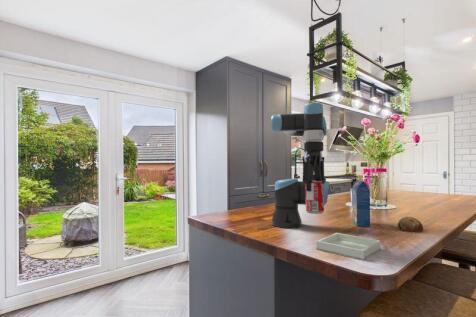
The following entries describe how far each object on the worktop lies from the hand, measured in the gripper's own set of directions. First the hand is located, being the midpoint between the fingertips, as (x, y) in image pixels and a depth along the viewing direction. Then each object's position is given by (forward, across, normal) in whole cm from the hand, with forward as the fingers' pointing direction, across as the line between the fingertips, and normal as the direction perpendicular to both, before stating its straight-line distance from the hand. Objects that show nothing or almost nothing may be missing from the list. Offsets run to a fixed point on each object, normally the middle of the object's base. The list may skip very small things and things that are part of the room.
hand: (314, 198), depth 112 cm
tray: (+17, 0, -14) cm, 22 cm away
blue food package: (+17, +44, -1) cm, 48 cm away
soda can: (+6, +1, 0) cm, 6 cm away
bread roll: (+17, +48, -22) cm, 56 cm away
